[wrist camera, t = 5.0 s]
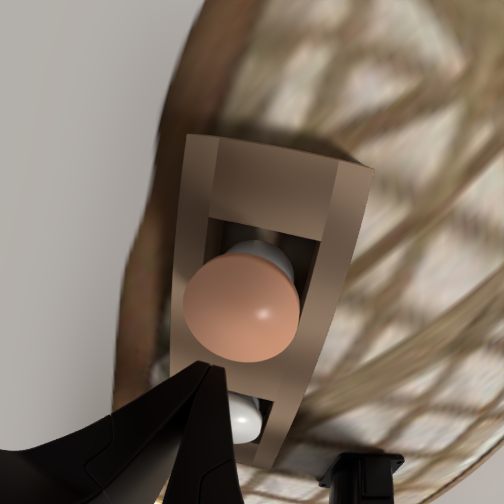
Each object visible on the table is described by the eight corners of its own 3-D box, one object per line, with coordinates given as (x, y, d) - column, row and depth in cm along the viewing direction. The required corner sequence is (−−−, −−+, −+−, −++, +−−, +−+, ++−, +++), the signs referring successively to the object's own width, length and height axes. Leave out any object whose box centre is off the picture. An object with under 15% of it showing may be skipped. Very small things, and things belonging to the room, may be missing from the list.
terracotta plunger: (291, 325, 15) (283, 372, 12) (206, 305, 16) (180, 345, 12) (312, 243, 14) (311, 276, 10) (216, 222, 14) (186, 247, 11)
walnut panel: (275, 442, 22) (270, 470, 20) (183, 417, 23) (171, 443, 21) (363, 164, 14) (374, 169, 12) (208, 134, 15) (186, 134, 13)
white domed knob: (262, 412, 21) (253, 449, 18) (206, 398, 22) (191, 432, 18) (275, 373, 20) (266, 412, 16) (210, 356, 20) (193, 392, 17)
